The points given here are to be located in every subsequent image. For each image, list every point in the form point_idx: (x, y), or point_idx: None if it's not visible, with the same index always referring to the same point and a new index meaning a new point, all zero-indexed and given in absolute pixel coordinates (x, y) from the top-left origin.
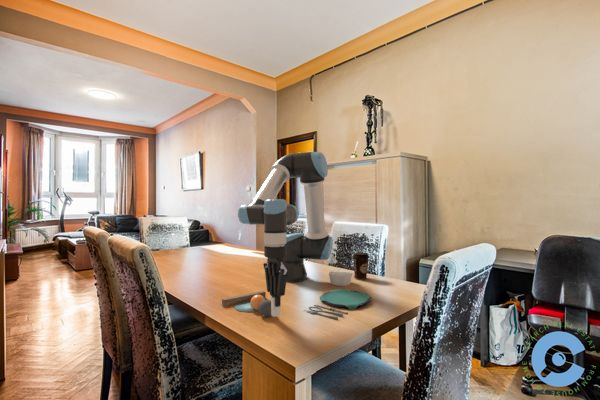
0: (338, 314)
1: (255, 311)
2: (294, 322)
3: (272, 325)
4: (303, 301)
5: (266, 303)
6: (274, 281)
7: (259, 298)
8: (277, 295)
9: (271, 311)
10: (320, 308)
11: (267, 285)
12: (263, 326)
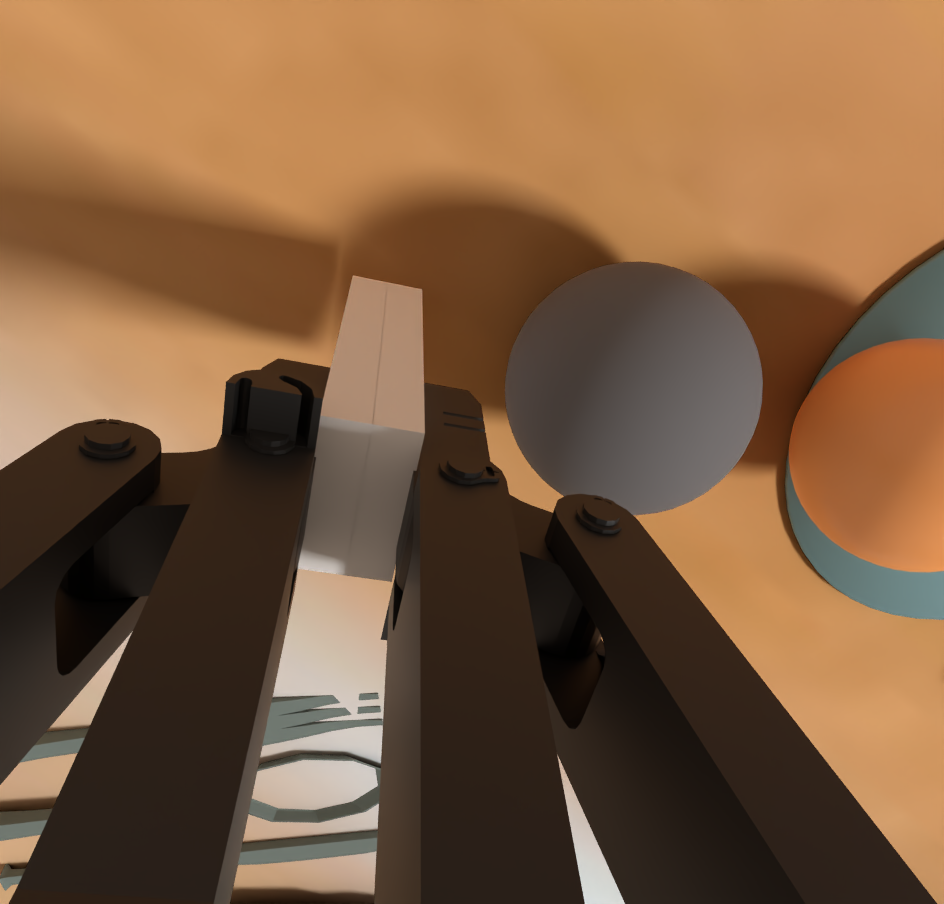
0: (6, 820)
1: (844, 340)
2: (169, 434)
3: (284, 168)
4: (573, 840)
5: (601, 383)
6: (177, 725)
7: (895, 475)
8: (95, 429)
9: (410, 307)
10: (279, 820)
11: (654, 603)
12: (349, 42)
